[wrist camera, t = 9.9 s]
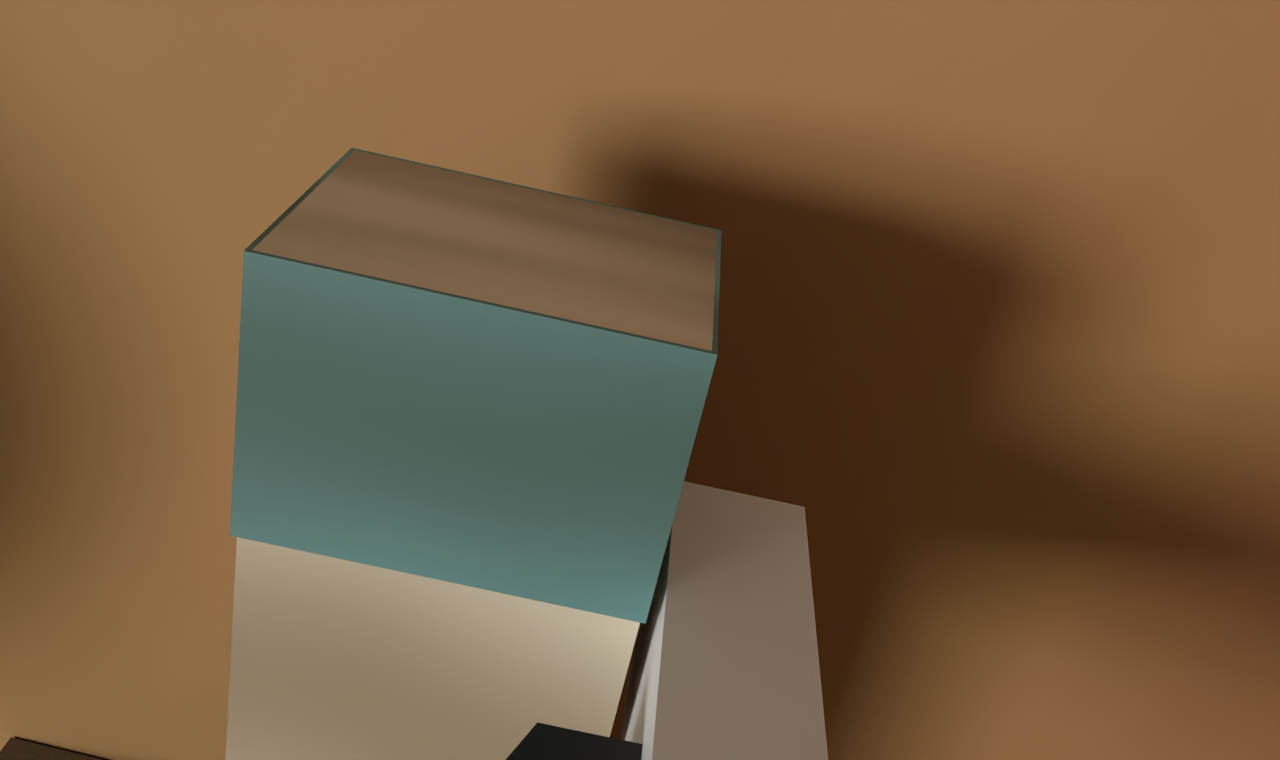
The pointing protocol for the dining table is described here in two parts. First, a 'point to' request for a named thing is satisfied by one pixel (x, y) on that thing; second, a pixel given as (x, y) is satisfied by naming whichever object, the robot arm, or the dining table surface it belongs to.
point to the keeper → (37, 752)
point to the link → (454, 459)
